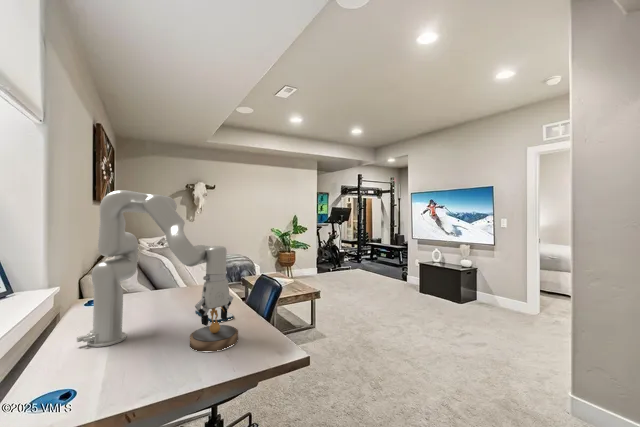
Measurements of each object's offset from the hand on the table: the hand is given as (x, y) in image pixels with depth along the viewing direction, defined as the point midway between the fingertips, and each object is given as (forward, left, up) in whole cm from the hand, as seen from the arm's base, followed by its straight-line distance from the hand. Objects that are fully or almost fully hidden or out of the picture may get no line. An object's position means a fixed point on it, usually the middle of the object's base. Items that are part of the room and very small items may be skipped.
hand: (214, 321), depth 117 cm
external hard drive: (+19, +28, -9) cm, 35 cm away
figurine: (0, 0, -4) cm, 4 cm away
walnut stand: (0, 0, -8) cm, 8 cm away
